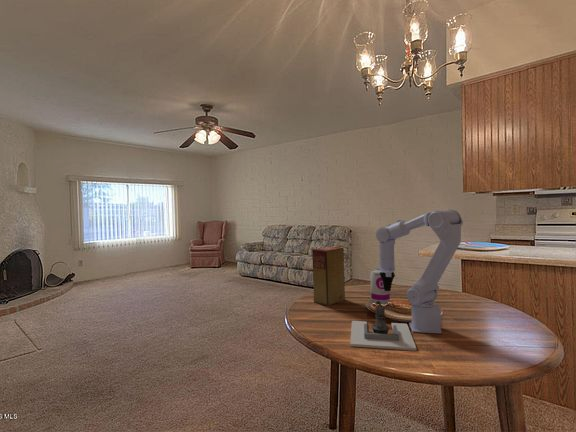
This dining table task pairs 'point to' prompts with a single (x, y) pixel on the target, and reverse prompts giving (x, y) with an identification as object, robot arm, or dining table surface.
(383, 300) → the supplement can
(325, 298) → the food packaging
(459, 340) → the dining table surface
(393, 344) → the board
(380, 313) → the black chess piece
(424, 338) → the dining table surface
